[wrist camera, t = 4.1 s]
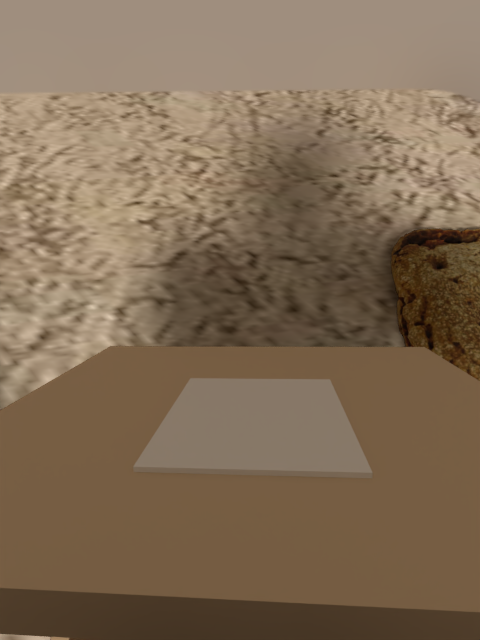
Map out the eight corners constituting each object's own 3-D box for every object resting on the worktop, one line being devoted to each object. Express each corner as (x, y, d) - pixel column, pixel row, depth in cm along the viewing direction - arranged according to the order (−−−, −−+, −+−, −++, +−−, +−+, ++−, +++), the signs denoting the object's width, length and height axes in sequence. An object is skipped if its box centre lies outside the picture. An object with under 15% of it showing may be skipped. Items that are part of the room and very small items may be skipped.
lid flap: (871, 686, 4) (889, 623, 4) (-270, 616, 5) (-283, 566, 5) (423, 362, 16) (424, 344, 16) (111, 360, 17) (110, 343, 17)
